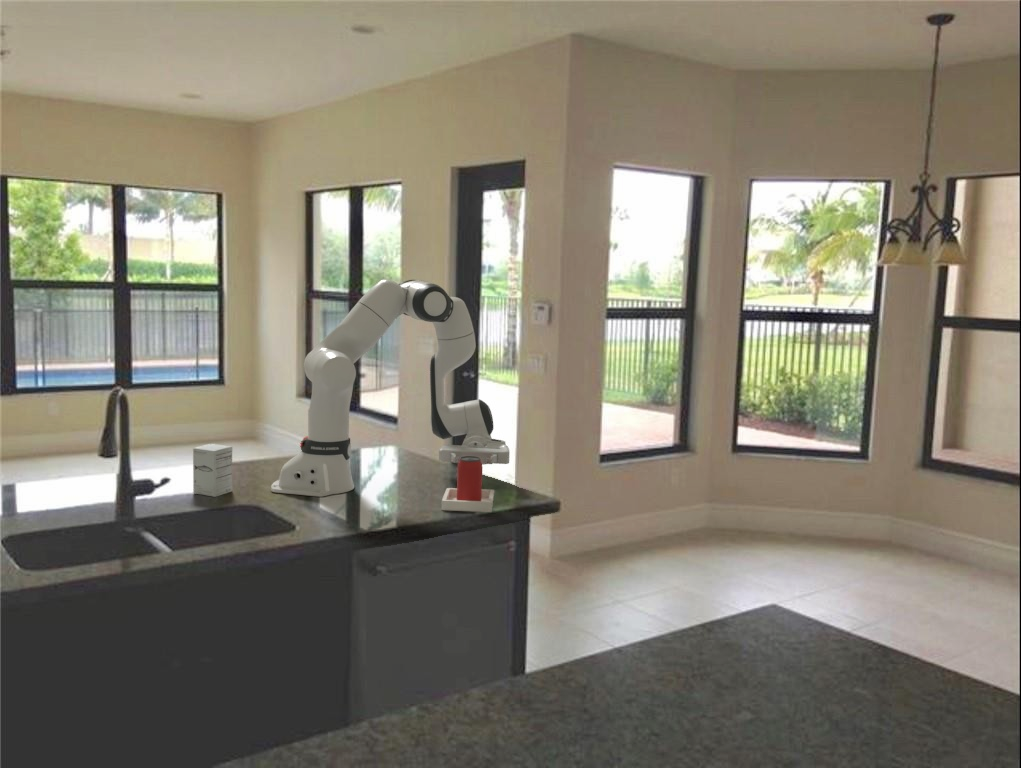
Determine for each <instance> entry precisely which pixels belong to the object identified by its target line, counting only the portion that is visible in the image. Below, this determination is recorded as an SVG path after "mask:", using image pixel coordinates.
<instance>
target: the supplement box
mask: <svg viewBox="0 0 1021 768" xmlns="http://www.w3.org/2000/svg"><path fill="white" fill-rule="evenodd" d="M192 452H193V453H192V460H193V461H192V462H193V463H192V465H193V471H192V472H193V473H192V474H193V475H192V476H193V477H192V478H193V480H192V482H193V483H192V484H193V485H192V486H193V491H192V492H193V494H196V495H197V494H198V495H202V496H209V497H213V498H214V497H215V498H216V497H219V496H222V495H225V494H228V493H231V492H233V446H231V445H230V446H229V445H224V444H217V443H208V444H203V445H199V446H196V447H193V448H192Z"/></svg>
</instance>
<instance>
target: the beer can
mask: <svg viewBox="0 0 1021 768" xmlns="http://www.w3.org/2000/svg"><path fill="white" fill-rule="evenodd" d="M456 477H457V478H456V483H457V484H456V488H457V500H463V501H481V499H482V489H483V464H482V463H481V458H479V457H476V456H463V457H460V461H459V463H457V475H456Z"/></svg>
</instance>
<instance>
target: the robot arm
mask: <svg viewBox="0 0 1021 768" xmlns="http://www.w3.org/2000/svg"><path fill="white" fill-rule="evenodd" d="M401 315H404V316H409V317H411V318H413V319H415V320H417V321H418V320H419V321H423V322H428V323H432V324H433V327H434V329H435V334H436V339H437V348H436V352H435V353H434V354H432V356H431V358H430V364H429V371H430V372H429V383H430V384H429V385H430V408H431V409H430V417H429V423H430V424H429V426H430V429H431V431H432V433H433V435H435V436H436V437H438V438H439V439H442V440H446V439H450V438H453V437H457V436H463V435H465V438H464V439H463V441H462V444H461V445H457V444H456V445H455V444H445V445H443V446H441V447H440V448H439V450H438V461H440V462H443V463H445V462H446V463H454V464H455V463H456V464H458V463H459V461H460V457H463V456H476V457H479V458H481V463H482V466H483V465H484V466H485V465H493V464H499V465H509V463H510V448H509V446H508V445H506V440H501V439H496V438H492V433H493V431H494V419H493V414H492V411H491V408H490V406H489V405H488V404H487V403H486V402H484V401H483V400H482V399H474V400H469V401H468V400H467V401H464V402H458V403H453V404H451V403H450V404H447V403H445V384H444V383H445V382H444V380H445V378H446V377H447V375H449V374H450V373H451V372H452V371H454V370H456V369H457V368H459V367H460V366H461V367H462V366H463V365H464V364H465V363H467V362H468V361H469V360H470V358H472V356H473V355H474V353H475V350H476V334H475V329H474V326H473V321H472V318H471V315H470V312H469V309H468V307H467V305H466V303H465V301H464V300H463V299H461V298H459V297H458V296H457V297H456V296H449V295H448V293H447V292H446V291H445V289H444V288H443V287H441V286H439V285H438V284H435V283H433V282H432V283H431V282H429V281H428V280H427V281H426V280H421V279H420V280H417V279H408V280H405V281H403V282H400V283H398V282H397V281H395V280H392V279H388V278H387V279H384V278H383V279H381V280H379V281H378V282H376V283H375V284H374V285H373V286H372V287H371V288H370V289H369V290H368V291H366V292H365V294H363V296H362V297H361V298H360V299H359V300H358V301H357V302H356V304H355V305H354V306H353V307H352V308H351V310H350V311H349V312H348V313H347V314H346V316H345V317H344V318H343V319H342V321H341V322H339V324H338V325H337V326H336V327H335V328H334V329H333V330H331V332H329V333H328V334H327V335H326V336H325V337H324V338H322V340H321V341H320V342H319V343H318V344H317V345H316V346H315V347H314V348H313V349H312V350H311V351H310V352H308V353H307V355H306V356H305V358H304V362H303V370H304V374H305V375H306V378H307V379H308V380H309V381H310V382H311V383H312V390H311V398H310V401H309V403H310V404H309V408H308V410H307V415H308V416H307V417H308V418H307V419H308V420H307V433H308V435H306V436H305V437H303V438H302V440H301V441H300V444H299V446H300V447H299V448H300V450H301V451H299V452H298V453H297V454H296V455H294V456H293V457H292V458H291V459H288V461H287V462H285V463H284V465H282V467H281V468H280V469H281V470H280V473H279V478H278V479H277V480H276V481H273V483H271V486H270V491H271V492H273V493H278V494H279V493H280V494H289V495H301V496H310V497H321V498H322V497H327V496H330V495H338V494H343V493H347V492H350V491H352V490H354V488H355V484H354V480H353V477H352V472H351V471H352V470H351V463H350V459H351V454H352V445H351V438H350V408H351V407H350V406H351V402H352V397H353V396H352V394H353V388H354V382H355V380H356V377H357V369H356V367H355V363H356V362H357V361H359V360H360V358H362V357H363V356H364V355H366V353H368V352H370V351H371V350H372V349H373V348H374V346H375V345H376V344H377V343H378V342H379V340H380V339H381V338H382V337H383V335H384V334H385V333H386V332H387V330H388V329H389V328H390V327H391V325H392V324H393V323H394V322H395V320H396V319H397V318H398V317H400V316H401Z"/></svg>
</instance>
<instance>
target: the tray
mask: <svg viewBox="0 0 1021 768" xmlns="http://www.w3.org/2000/svg"><path fill="white" fill-rule="evenodd" d="M494 500H495V489H486V488H485V489H483V488H482V499H481V501H463V500H457V487H456V488H455V487H454V488H453V487H447V488H446V489H445V492H444V494H443V496H442V499H441V511H455V512H456V511H458V512H478V513H479V512H482V513H492V511H493V508H492V507H493V506H494V502H493V501H494Z"/></svg>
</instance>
